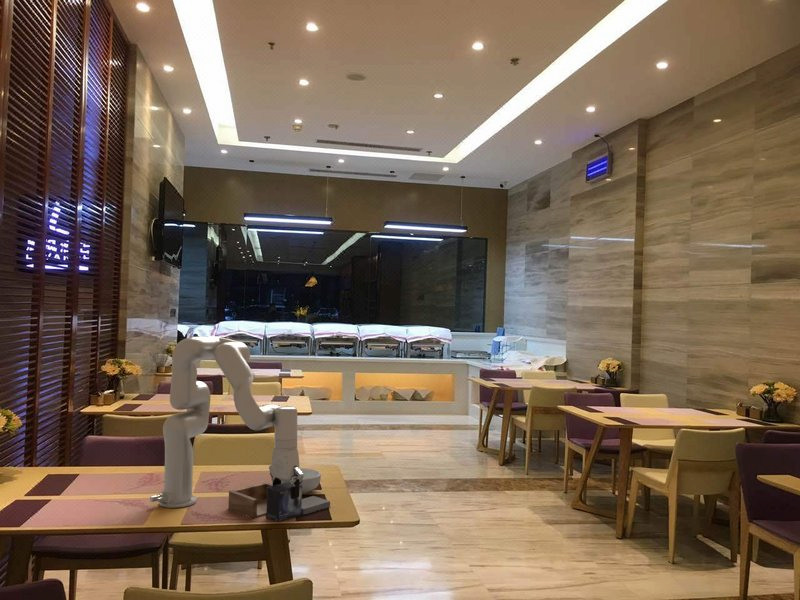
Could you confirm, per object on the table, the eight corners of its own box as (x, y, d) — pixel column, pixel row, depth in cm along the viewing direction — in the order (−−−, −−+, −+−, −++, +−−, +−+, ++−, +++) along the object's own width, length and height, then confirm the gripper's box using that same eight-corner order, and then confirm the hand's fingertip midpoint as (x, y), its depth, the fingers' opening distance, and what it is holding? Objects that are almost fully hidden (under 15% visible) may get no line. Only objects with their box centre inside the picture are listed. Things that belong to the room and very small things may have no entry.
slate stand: (303, 514, 205) (303, 508, 205) (286, 508, 211) (287, 503, 211) (330, 507, 214) (330, 501, 214) (313, 501, 220) (313, 495, 220)
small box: (278, 523, 196) (278, 490, 197) (265, 519, 200) (265, 487, 201) (302, 515, 205) (303, 484, 205) (289, 511, 209) (290, 480, 209)
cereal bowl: (300, 501, 220) (301, 481, 221) (266, 493, 229) (267, 474, 229) (329, 490, 235) (329, 471, 235) (296, 483, 244) (297, 465, 244)
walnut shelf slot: (252, 518, 201) (253, 500, 201) (228, 508, 210) (228, 491, 210) (291, 507, 213) (291, 490, 213) (266, 498, 222) (267, 482, 222)
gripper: (261, 442, 206) (261, 492, 205) (293, 449, 195) (293, 503, 194) (279, 438, 212) (278, 488, 211) (311, 445, 200) (311, 497, 200)
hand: (285, 495), depth 203 cm, fingers open, 9 cm apart
